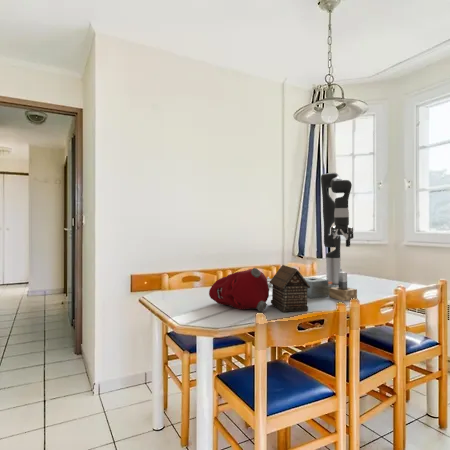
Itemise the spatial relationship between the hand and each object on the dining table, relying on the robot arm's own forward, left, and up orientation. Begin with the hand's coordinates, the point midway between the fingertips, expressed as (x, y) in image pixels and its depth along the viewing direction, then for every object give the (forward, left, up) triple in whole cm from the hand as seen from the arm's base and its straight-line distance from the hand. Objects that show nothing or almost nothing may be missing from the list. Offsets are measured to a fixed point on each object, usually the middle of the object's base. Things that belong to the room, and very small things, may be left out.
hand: (341, 246), depth 186 cm
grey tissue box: (+6, -12, -28) cm, 31 cm away
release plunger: (-1, -12, -27) cm, 30 cm away
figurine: (+10, -38, -29) cm, 48 cm away
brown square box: (0, +1, -28) cm, 28 cm away
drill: (0, +1, -28) cm, 28 cm away
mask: (+57, -9, -29) cm, 65 cm away
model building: (+38, +4, -28) cm, 48 cm away
